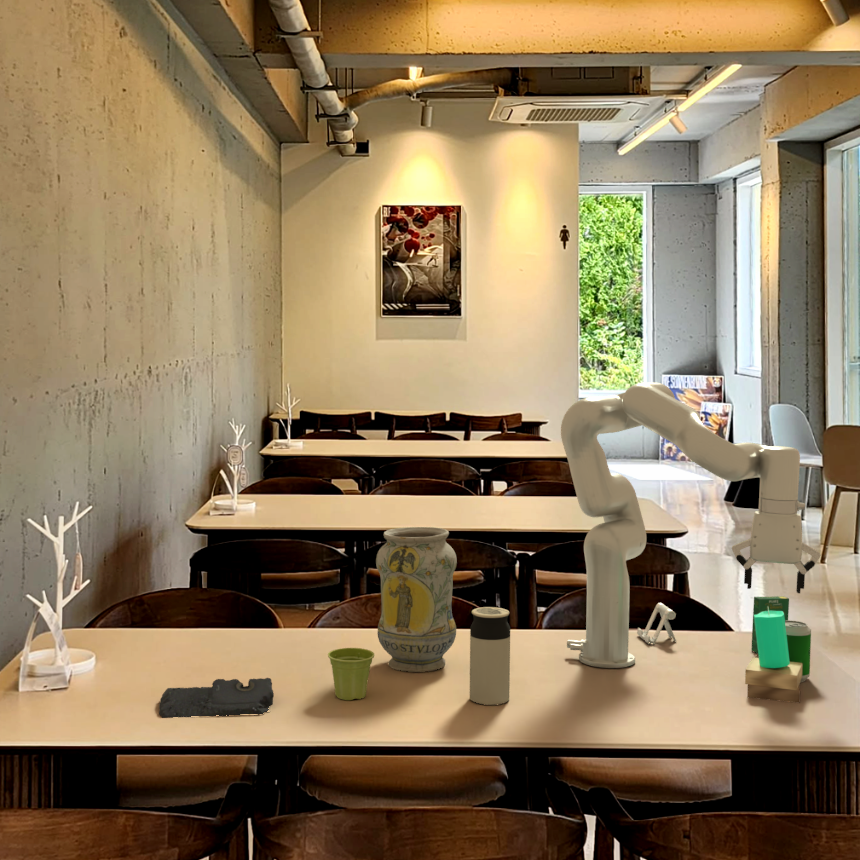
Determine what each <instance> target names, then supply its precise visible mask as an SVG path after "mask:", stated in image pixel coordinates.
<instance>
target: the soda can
mask: <svg viewBox="0 0 860 860" xmlns="http://www.w3.org/2000/svg"><path fill="white" fill-rule="evenodd" d="M785 626H786V635H787V643H788V652H789V661H790V662H798V663H802V679H801V681H800V683H803V682H805V681H806V679H808V678H809V677H810V676H811V675H810V673H811V645H812V643H811V642H812V629H811V628H810V627H809V625H808V624H807V623H806V622H803V621H798V620H791V619H790V620H789V619H788V620H786V621H785Z"/></svg>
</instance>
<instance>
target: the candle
mask: <svg viewBox="0 0 860 860" xmlns="http://www.w3.org/2000/svg"><path fill="white" fill-rule="evenodd" d="M754 621H755V630H756V638H757V647H758V653H757V654H758V658H759V664H760V666H761V667H765V668H781V667H785V666H788V665H789V664H790V661H789V652H788V643H787V635H786V626H785V617H784V613H783V611H769V608H768V611H764V612H761V613H759V614H757V615H754Z"/></svg>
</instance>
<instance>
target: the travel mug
mask: <svg viewBox="0 0 860 860" xmlns="http://www.w3.org/2000/svg"><path fill="white" fill-rule="evenodd" d="M471 614H472V615H473V621H472V624H471V625H470V628H469V629H470V631H469V632H470V633H469V635H470V636H469V699H470V701H472V702H473V703H475V702H476V703H475V704H478V703H479V705H482V704H485V705H484V706H497V704H499V705H503V704H505V703H507V702H508V701H509V700H510V690H511V689H510V686H511V685H510V684H511V683H510V681H511V680H510V679H511V678H510V675H511V673H510V672H511V668H510V665H511V626H510V624H509V623H508V617H509V615H510V611H509V610H508V609H505V608H502V607H495V606H483V607H477V608H474V609H472V610H471ZM502 703H503V704H502Z"/></svg>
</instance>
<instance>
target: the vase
mask: <svg viewBox="0 0 860 860" xmlns="http://www.w3.org/2000/svg"><path fill="white" fill-rule="evenodd" d="M449 535H450V532H449V530H448V529H445V528H441V527H433V526H432V527H431V526H410V527H408V526H407V527H399V528H398V527H397V528H391V529H387V530H386V531H384V532H383V538H384V539H385V540H386V543H384V544H383V545H382V546H381V547H380V548H379V550H378V551H377V554H376V558H375V564H376V569H377V572H378V573H379V575H380V576H379V577H380V596H381V599H380V600H381V615H380V619H379V621H378V625H377V634H376V635H377V639H378V641H379V644H380V645H381V646H382V647H381V648H382V649H383V650H384V651H385V652H386V653H387V654H388V655H389V656H391V659H390V660H388V663H387V664H388V667H390V668H391V669H393V670H395V669H397V670H396V671H400V670H401V672H406V671H408V672H407V673H426V672H425V671H428V672H432V671H437V669H438V670H441V669H442V668H444V667H445V665H446V659H444V655H445V654H446V652H447V653H448V651H449V650H450V648H451V647H452V646H453V644H454V642H455V640H456V638H457V637H456V635H457V625H456V622H455V619H454V617H453V613H452V612H453V611H452V609H453V608H452V601H453V587H454V586H453V581H454V580H453V578H454V577H453V575H454V572H455V570H456V568H457V564H458V562H457V560H458V559H457V554H456V552H455V550H454V548H452V546H451V545H450V544H449V543H447V541H446V540H447V538H448V537H449ZM440 668H441V669H440Z"/></svg>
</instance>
